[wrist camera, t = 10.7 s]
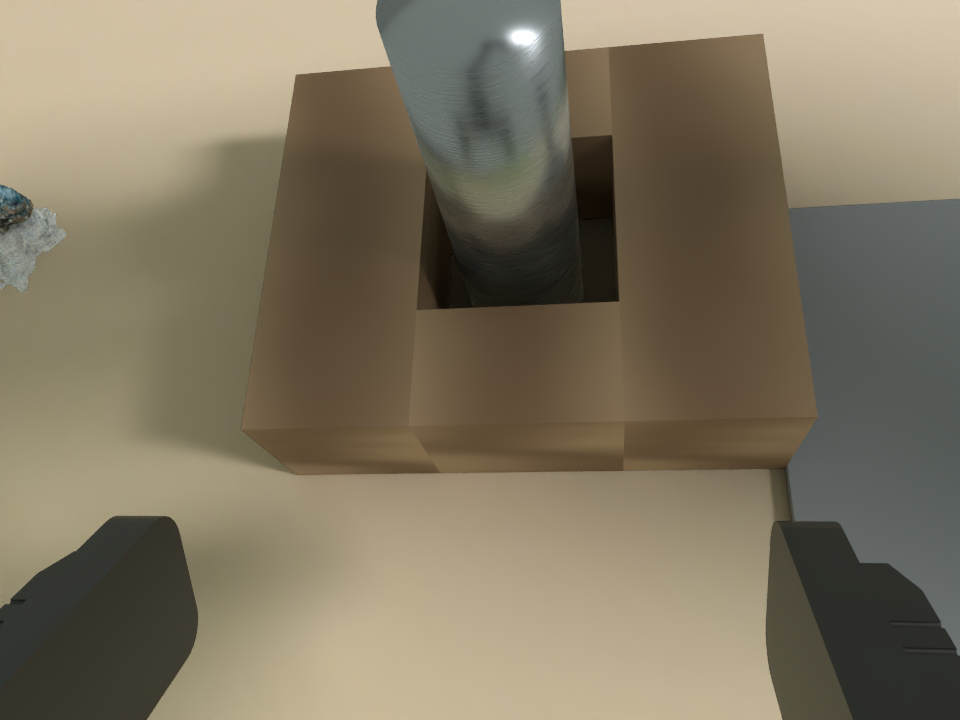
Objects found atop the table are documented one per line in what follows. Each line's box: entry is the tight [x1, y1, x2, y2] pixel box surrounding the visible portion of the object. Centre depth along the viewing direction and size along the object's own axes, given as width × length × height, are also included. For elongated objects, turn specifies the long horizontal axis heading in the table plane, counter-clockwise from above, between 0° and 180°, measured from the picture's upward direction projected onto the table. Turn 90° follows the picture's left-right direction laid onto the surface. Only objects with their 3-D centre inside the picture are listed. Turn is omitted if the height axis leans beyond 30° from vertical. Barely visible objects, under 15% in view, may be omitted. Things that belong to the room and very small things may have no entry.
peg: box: [376, 0, 584, 308], centre depth 18 cm, size 3×3×10 cm
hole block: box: [241, 34, 818, 475], centre depth 21 cm, size 12×10×4 cm
